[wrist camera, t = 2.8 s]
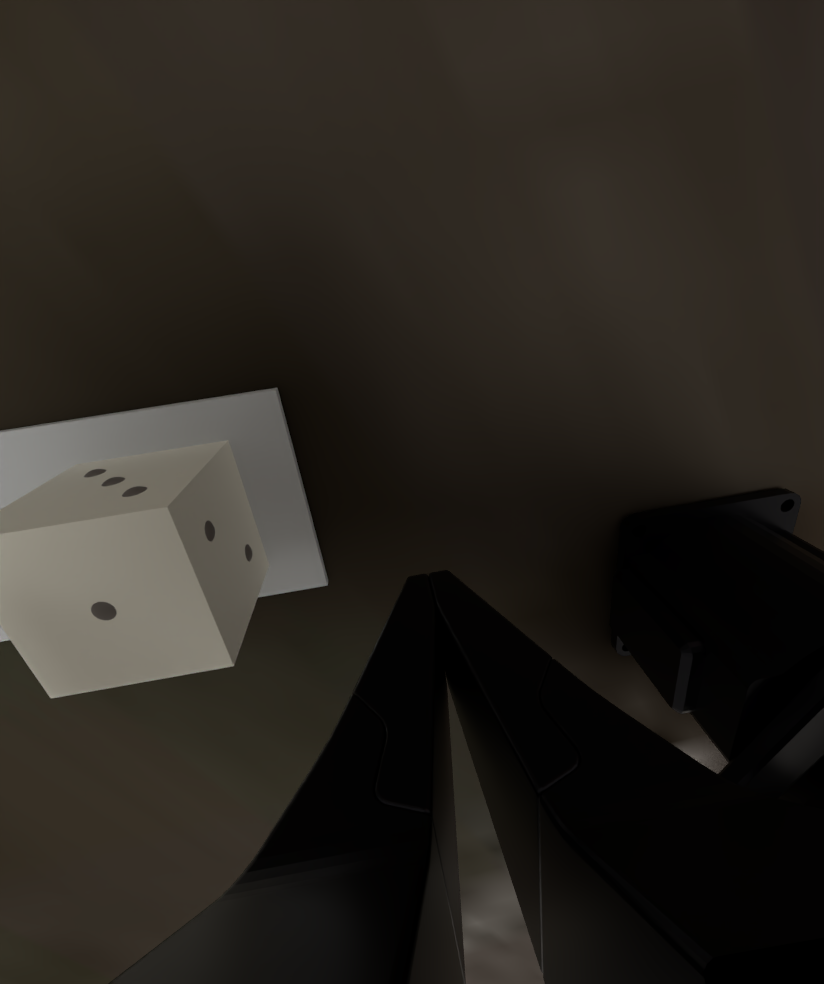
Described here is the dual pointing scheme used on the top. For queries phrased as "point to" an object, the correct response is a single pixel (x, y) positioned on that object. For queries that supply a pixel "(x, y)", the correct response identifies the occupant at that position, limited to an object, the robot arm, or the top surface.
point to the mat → (237, 418)
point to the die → (131, 569)
